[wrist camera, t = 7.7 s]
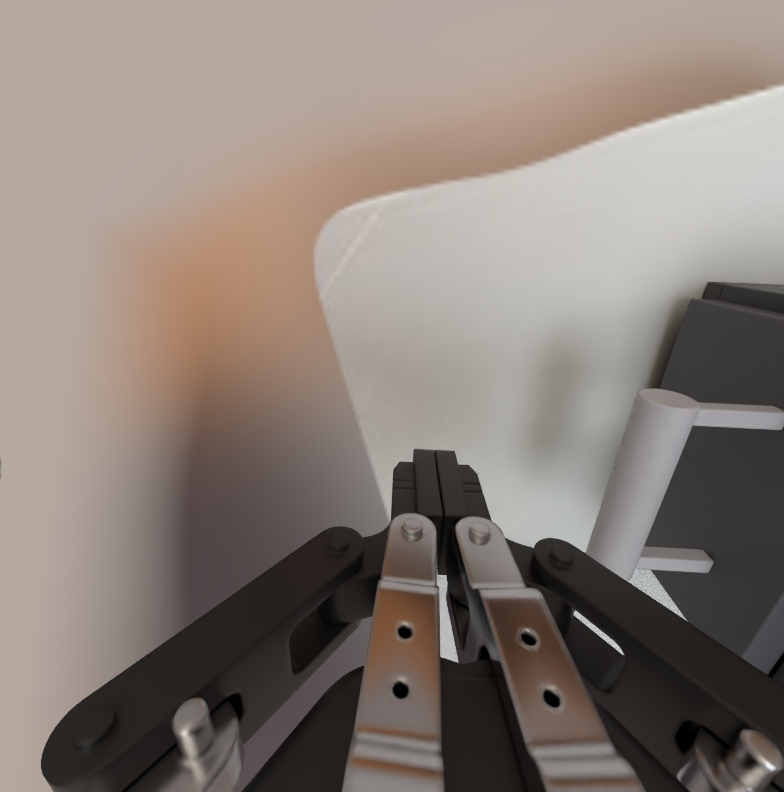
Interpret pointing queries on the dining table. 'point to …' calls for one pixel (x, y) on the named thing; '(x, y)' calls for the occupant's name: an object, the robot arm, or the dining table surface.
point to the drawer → (708, 480)
